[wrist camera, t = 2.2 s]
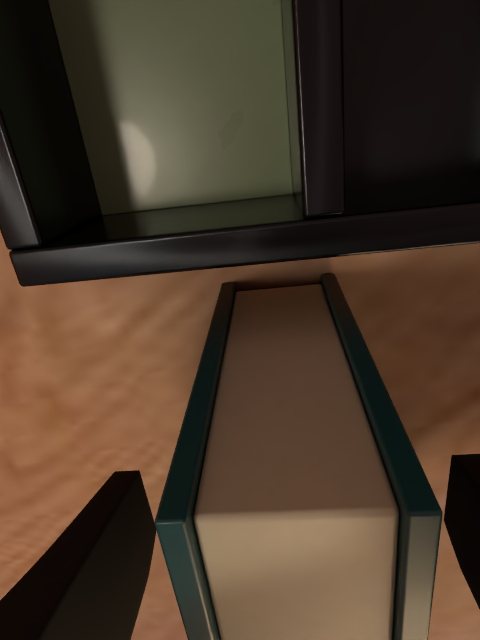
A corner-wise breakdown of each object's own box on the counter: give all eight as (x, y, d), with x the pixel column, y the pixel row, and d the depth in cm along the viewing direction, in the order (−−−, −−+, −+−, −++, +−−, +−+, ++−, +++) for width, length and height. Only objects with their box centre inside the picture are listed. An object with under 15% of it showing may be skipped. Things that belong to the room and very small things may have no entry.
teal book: (339, 464, 16) (410, 798, 8) (248, 468, 16) (230, 792, 8) (334, 272, 12) (444, 512, 5) (221, 283, 13) (153, 522, 5)
